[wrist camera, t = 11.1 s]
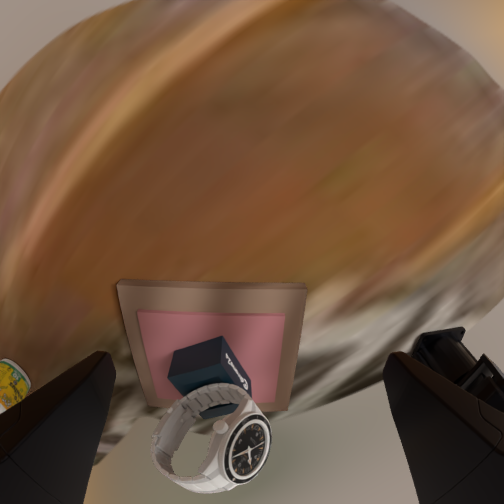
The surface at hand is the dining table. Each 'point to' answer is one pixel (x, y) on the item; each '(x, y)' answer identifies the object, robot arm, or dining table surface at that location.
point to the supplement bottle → (12, 384)
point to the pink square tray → (215, 331)
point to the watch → (208, 406)
